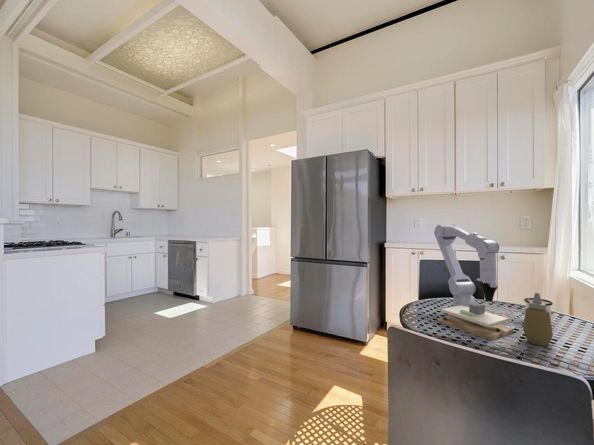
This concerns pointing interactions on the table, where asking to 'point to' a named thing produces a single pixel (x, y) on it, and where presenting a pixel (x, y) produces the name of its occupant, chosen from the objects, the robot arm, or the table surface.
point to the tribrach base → (476, 327)
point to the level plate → (475, 314)
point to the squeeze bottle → (537, 323)
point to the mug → (548, 303)
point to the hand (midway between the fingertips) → (488, 301)
